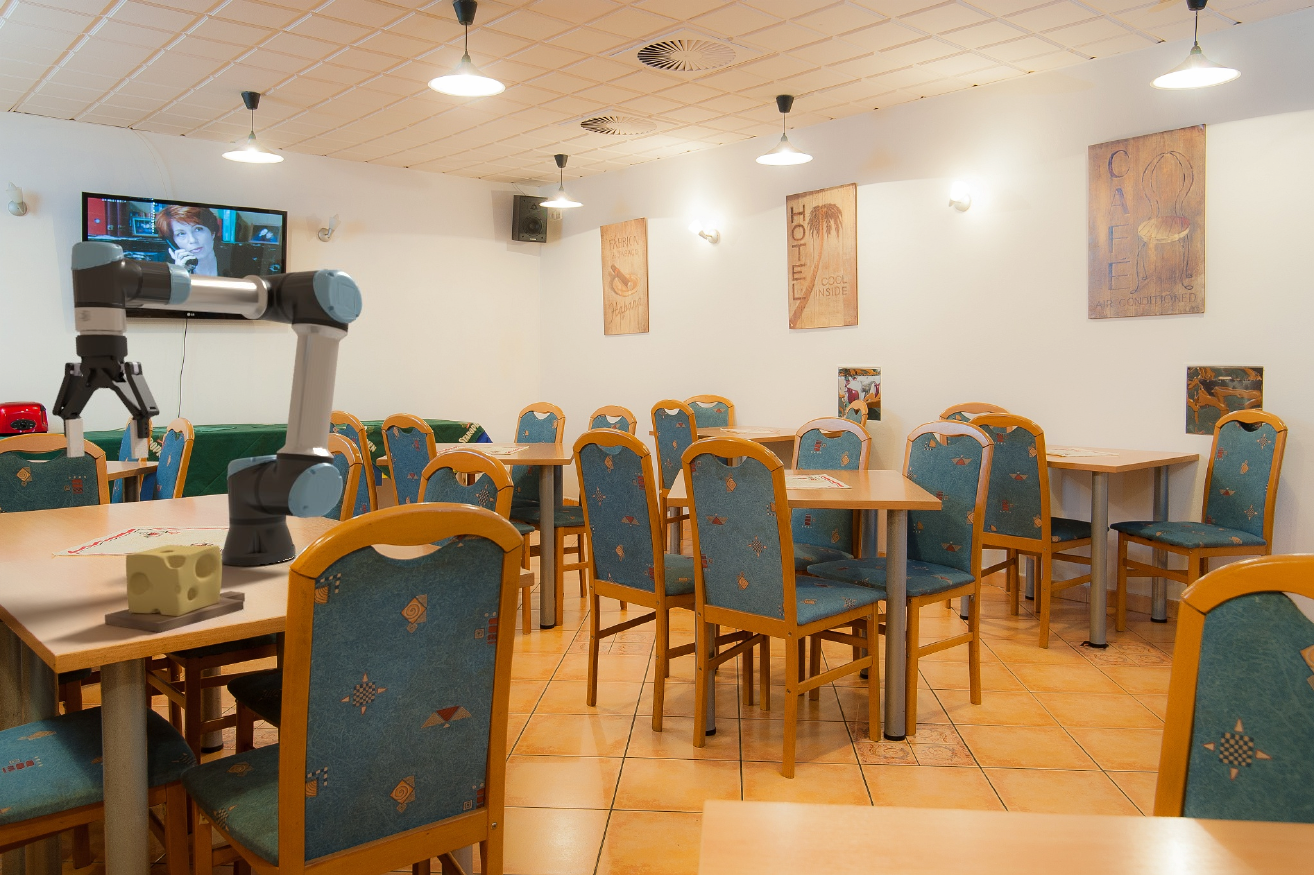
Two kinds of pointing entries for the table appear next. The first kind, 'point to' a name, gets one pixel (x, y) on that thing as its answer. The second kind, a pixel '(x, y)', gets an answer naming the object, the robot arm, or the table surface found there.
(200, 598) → the cheese
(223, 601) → the board
